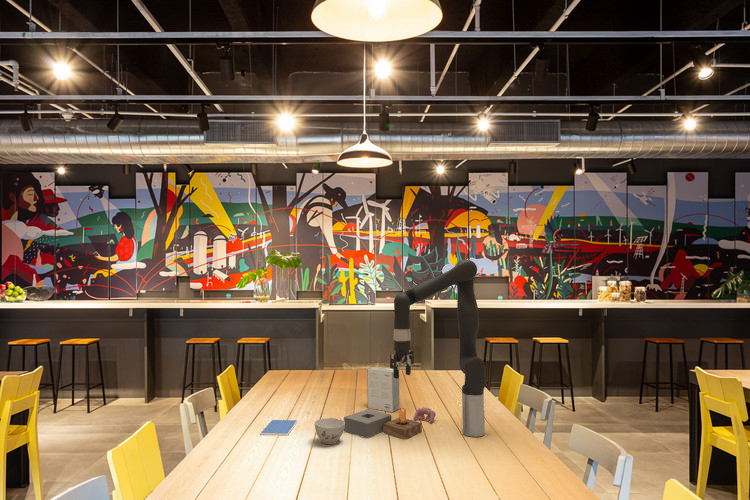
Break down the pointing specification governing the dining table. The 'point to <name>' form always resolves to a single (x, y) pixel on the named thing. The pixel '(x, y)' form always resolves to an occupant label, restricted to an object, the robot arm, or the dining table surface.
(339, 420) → the teacup
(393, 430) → the pin mount
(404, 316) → the robot arm
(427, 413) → the video game controller
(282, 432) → the blue book
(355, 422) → the dock socket
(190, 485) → the dining table surface
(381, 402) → the hard drive box
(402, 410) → the pin
